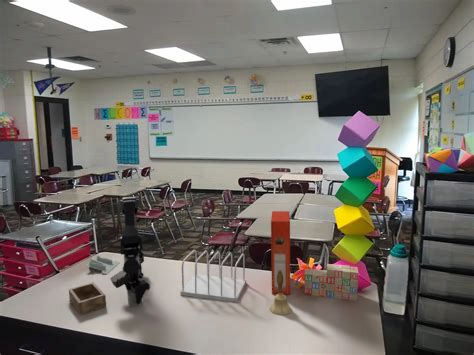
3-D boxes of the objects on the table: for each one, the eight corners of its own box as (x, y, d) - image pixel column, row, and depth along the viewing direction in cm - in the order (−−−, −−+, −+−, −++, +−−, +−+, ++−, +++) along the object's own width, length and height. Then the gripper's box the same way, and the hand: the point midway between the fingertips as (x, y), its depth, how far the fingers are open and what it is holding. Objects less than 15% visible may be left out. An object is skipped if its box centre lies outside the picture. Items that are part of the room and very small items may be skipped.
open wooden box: (94, 293, 150) (93, 282, 149) (106, 306, 138) (105, 294, 137) (69, 300, 143) (68, 289, 143) (79, 315, 132) (78, 303, 131)
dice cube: (129, 307, 137) (128, 295, 137) (127, 301, 142) (127, 290, 141) (142, 304, 139) (141, 293, 139) (140, 299, 144) (139, 287, 143)
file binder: (271, 294, 146) (270, 221, 141) (272, 276, 163) (272, 211, 158) (290, 295, 145) (290, 221, 140) (289, 277, 162) (289, 211, 157)
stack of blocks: (303, 294, 145) (304, 267, 144) (305, 288, 151) (305, 261, 150) (357, 301, 139) (358, 272, 138) (356, 294, 145) (357, 266, 143)
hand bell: (277, 317, 128) (277, 276, 126) (265, 307, 136) (265, 268, 133) (295, 311, 132) (295, 272, 130) (283, 302, 139) (283, 264, 137)
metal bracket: (82, 263, 169) (97, 252, 184) (80, 273, 170) (95, 262, 185) (109, 271, 168) (123, 260, 183) (107, 282, 169) (120, 269, 184)
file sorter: (180, 295, 146) (178, 260, 144) (195, 278, 163) (194, 246, 161) (237, 302, 140) (236, 266, 138) (246, 283, 157) (246, 250, 154)
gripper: (104, 262, 141) (106, 298, 143) (121, 277, 126) (124, 316, 129) (130, 255, 148) (132, 289, 150) (149, 268, 133) (151, 306, 136)
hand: (134, 300), depth 141 cm, fingers open, 8 cm apart
